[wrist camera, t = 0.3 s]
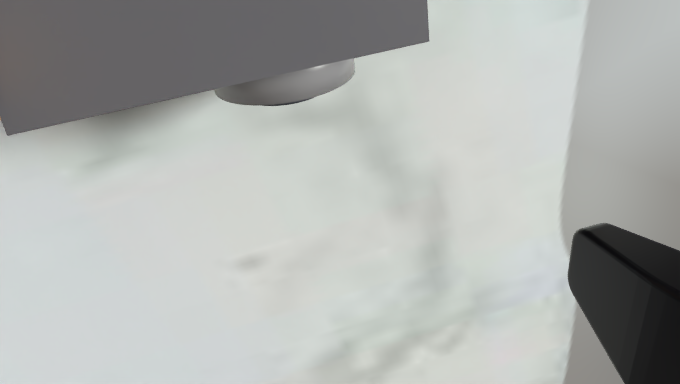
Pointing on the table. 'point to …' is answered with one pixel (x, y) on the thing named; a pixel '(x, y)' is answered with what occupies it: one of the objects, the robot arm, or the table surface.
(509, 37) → the table surface
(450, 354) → the table surface
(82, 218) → the table surface
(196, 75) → the block
